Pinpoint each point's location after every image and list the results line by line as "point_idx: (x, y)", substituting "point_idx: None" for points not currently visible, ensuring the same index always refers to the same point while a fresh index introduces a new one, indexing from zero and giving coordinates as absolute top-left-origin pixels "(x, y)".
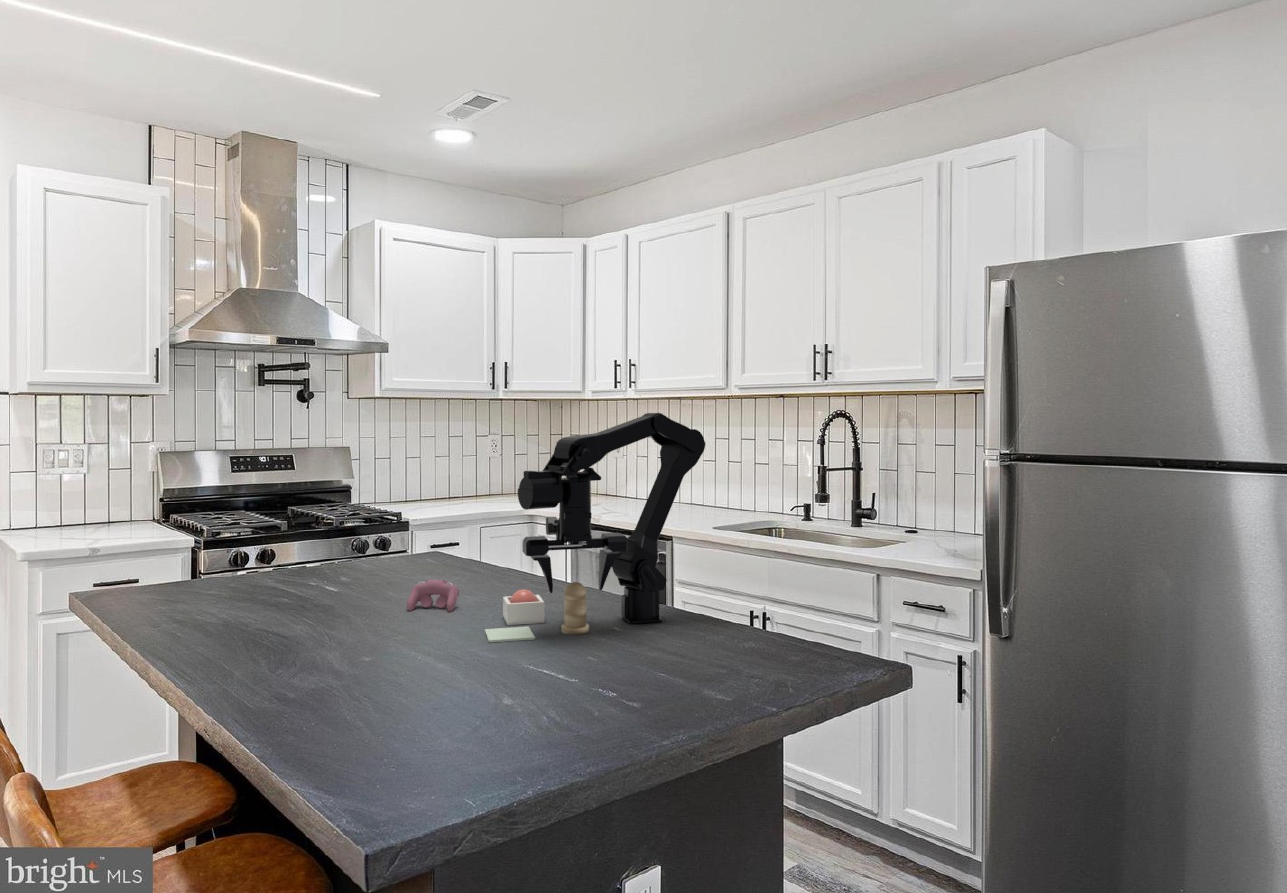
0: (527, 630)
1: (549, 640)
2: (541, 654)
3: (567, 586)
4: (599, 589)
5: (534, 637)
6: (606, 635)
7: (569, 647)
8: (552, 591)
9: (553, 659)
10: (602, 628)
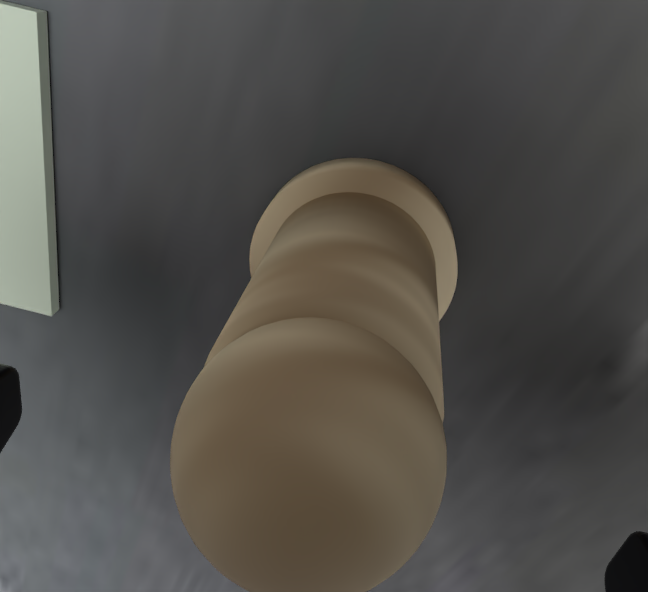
0: (18, 140)
1: (136, 360)
2: (59, 517)
3: (180, 507)
4: (615, 556)
5: (49, 315)
6: (477, 430)
7: None
8: (9, 437)
9: (95, 580)
10: (565, 284)
